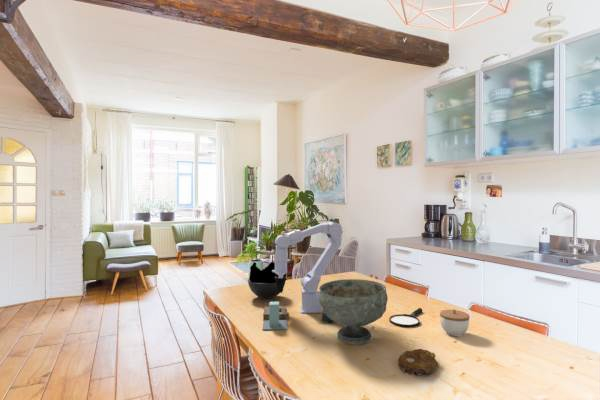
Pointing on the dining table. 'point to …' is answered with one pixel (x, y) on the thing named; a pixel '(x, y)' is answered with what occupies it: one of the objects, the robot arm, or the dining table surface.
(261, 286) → the coal bowl
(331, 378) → the dining table surface
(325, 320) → the watch
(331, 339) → the dining table surface
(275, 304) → the teal block
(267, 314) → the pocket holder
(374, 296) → the decorative bowl
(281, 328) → the rubber mat
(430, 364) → the decorative rock
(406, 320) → the magnifying glass
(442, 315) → the lidded jar
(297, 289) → the dining table surface
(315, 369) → the dining table surface
